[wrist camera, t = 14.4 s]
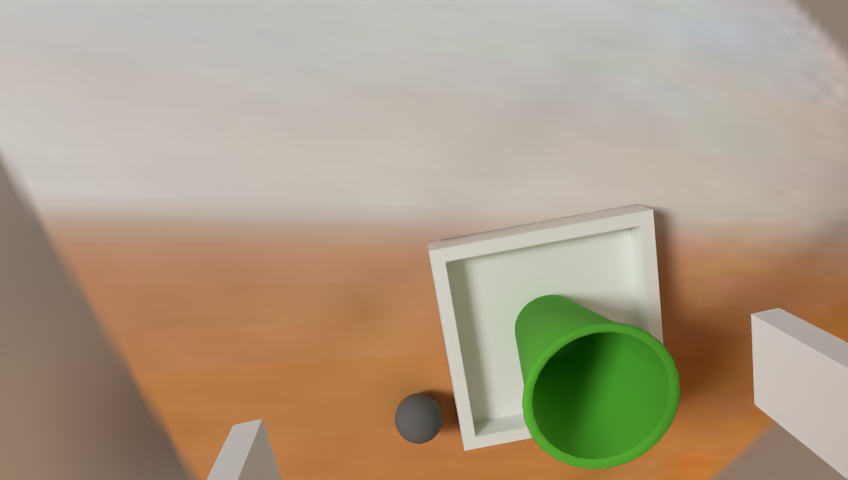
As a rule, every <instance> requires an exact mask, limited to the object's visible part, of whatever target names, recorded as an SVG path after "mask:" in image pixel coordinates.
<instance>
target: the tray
mask: <svg viewBox="0 0 848 480" xmlns="http://www.w3.org/2000/svg"><path fill="white" fill-rule="evenodd" d="M427 247H428V253H429V259H430V264H431V270H432V275H433V281H434V287H435V292H436V298H437V303H438V309H439V314H440V320H441V326H442V331H443V337H444V342H445V348H446V354H447V359H448V365H449V370H450V376H451V382H452V387H453V393H454V398H455V404H456V409H457V415H458V421H459V426H460V432H461V436H462V441H463V445H464V450H465V451H466V450H471V449H476V448H481V447H487V446H492V445H497V444H502V443H507V442H513V441H518V440H523V439H528V438H532V436H531V434H530V432H529V430H528V428H527V425H526V423H525V421H524V415H523V408H522V398H523V390H524V383H523V377H522V371H521V365H520V360H519V354H518V348H517V343H516V337H515V322H516V320H517V317H518V315H519V313H520V312H521V310H522V309H523V307H525V306H526V305H527V304H528V303H529V302H530V301H532V300H534V299H536V298H538V297H541V296H544V295H557V296H562V297H564V298H566V299H569V300H571V301H573V302H575V303H577V304H579V305H581V306H583V307H585V308H587V309H589V310H591V311H593V312H595V313H597V314H599V315H601V316H603V317H605V318H607V319H609V320H611V321H613V322H617V323H623V324H629V325H633V326H635V327H638V328H640V329H642V330H644V331H647V332H649V333H650V334H651V335H653V336H654V337H655V338H656V339H658V340H659V341H660V342H661V343H663V332H662V319H661V306H660V293H659V280H658V267H657V254H656V241H655V228H654V215H653V209H650V208H647V207H644V206H641V205H638V204H635V205H630V206H624V207H619V208H613V209H608V210H603V211H597V212H592V213H586V214H581V215H575V216H570V217H565V218H559V219H554V220H548V221H543V222H538V223H532V224H527V225H521V226H516V227H510V228H505V229H500V230H494V231H489V232H483V233H478V234H472V235H467V236H462V237H456V238H451V239H445V240H440V241H435V242H429V243H427Z"/></svg>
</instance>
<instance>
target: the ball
mask: <svg viewBox="0 0 848 480" xmlns="http://www.w3.org/2000/svg"><path fill="white" fill-rule="evenodd" d="M395 422H396V427H397V429H398V431H399V433H400V434H401V436H402V437H403V438H404V439H406V440H407V441H409V442H412V443H417V444H421V443H426V442H428V441H430V440H432V439H433V438H434V437H435V436H436V435H437V434H438V432H439V430H440V428H441V425H442V412H441V409H440V407H439V405H438V403H437V402H436V401H435V400H434V399H433V398H431V397H430V396H427V395H424V394H413V395H410V396H408V397H406V398H405V399H404V400H403V401H402V402H401V403H400V404H399V406H398V408H397V411H396V415H395Z"/></svg>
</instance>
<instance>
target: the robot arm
mask: <svg viewBox="0 0 848 480" xmlns="http://www.w3.org/2000/svg"><path fill="white" fill-rule="evenodd" d="M751 322H752V350H753V378H754V404H755V405H756V406H757V407H758V408H760V409H761V410H762V411H763V412H765V413H766V414H767V415H768V416H770V417H771V418H772V419H773V420H775V421H776V422H777V423H778V424H780V425H781V426H782V427H783V428H785V429H786V430H787V431H788V432H789V433H791V434H792V435H793V436H795V437H796V438H797V439H798V440H799V441H801V442H802V443H803V444H804V445H806V446H807V447H808V448H809V449H811V450H812V451H813V452H814V453H816V454H817V455H818V456H819V457H820V458H822V459H823V460H824V461H825V462H827V463H828V464H829V465H830V466H832V467H833V468H834V469H836V470H837V471H838V472H839V473H840V474H842V475H843V476H844V477H845V478H847V479H848V343H847V342H845V341H843V340H841V339H839V338H838V337H836V336H834V335H832V334H830V333H828V332H826V331H824V330H822V329H820V328H818V327H816V326H814V325H812V324H810V323H808V322H806V321H804V320H802V319H800V318H798V317H796V316H794V315H792V314H790V313H788V312H786V311H784V310H782V309H780V308H776V309H772V310H767V311H762V312H758V313H753V314H751ZM207 480H282V479H281V476H280V473H279V469H278V466H277V463H276V460H275V457H274V454H273V451H272V448H271V444H270V441H269V438H268V435H267V432H266V429H265V426H264V423H263V419H260V420H255V421H251V422H246V423H241V424H237V425H233V427H232V429H231V431H230V433H229V435H228V437H227V439H226V441H225V443H224V445H223V447H222V449H221V452H220V454H219V456H218V458H217V460H216V462H215V464H214V466H213V468H212V470H211V472H210V474H209V476H208V478H207Z"/></svg>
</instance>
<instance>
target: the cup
mask: <svg viewBox="0 0 848 480" xmlns="http://www.w3.org/2000/svg"><path fill="white" fill-rule="evenodd" d="M515 337H516V343H517V348H518V354H519V360H520V365H521V371H522V377H523V383H524V390H523V398H522V408H523V415H524V421H525V423H526V425H527V428H528V430H529V432H530V434H531V436H532V438H533V439H534V440H535V441H536V442H537V444H538V445H539V446H540V447H541V449H542V450H544V451H545V452H547V453H548V454H549V455H551V456H552V457H554V458H555V459H557V460H559V461H561V462H564V463H567V464H569V465H572V466H574V467H581V468H588V469H599V468H611V467H614V466H617V465H621V464H624V463H627V462H630V461H631V460H633V459H635V458H637V457H639V456H641V455H642V454H644V453H645V452H647V451H648V450H649V449H650V448H651V447H653V446H654V445H655V444H656V443H657V442H658V441H659V440H660V439H661V437H662V436H663V435H664V434H665V432H666V431H667V430H668V428H669V427H670V425H671V423H672V420H673V418H674V416H675V414H676V412H677V408H678V402H679V397H680V385H679V374H678V371H677V368H676V365H675V363H674V360H673V357H672V356H671V355H670V353H669V352H668V350H667V349H666V348H665V346H664V345H663V343H661V342H660V341H659V340H658V339H656V338H655V337H654V336H653V335H651V334H650V333H649V332H647V331H644V330H642V329H640V328H638V327H635V326H633V325H629V324H623V323H617V322H613V321H611V320H609V319H607V318H605V317H603V316H601V315H599V314H597V313H595V312H593V311H591V310H589V309H587V308H585V307H583V306H581V305H579V304H577V303H575V302H573V301H571V300H569V299H566V298H564V297H562V296H557V295H544V296H541V297H538V298H536V299H534V300H532V301H530V302H529V303H528V304H527V305H526V306H525V307H523V309H522V310H521V312H520V313H519V315H518V317H517V320H516V322H515Z"/></svg>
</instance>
